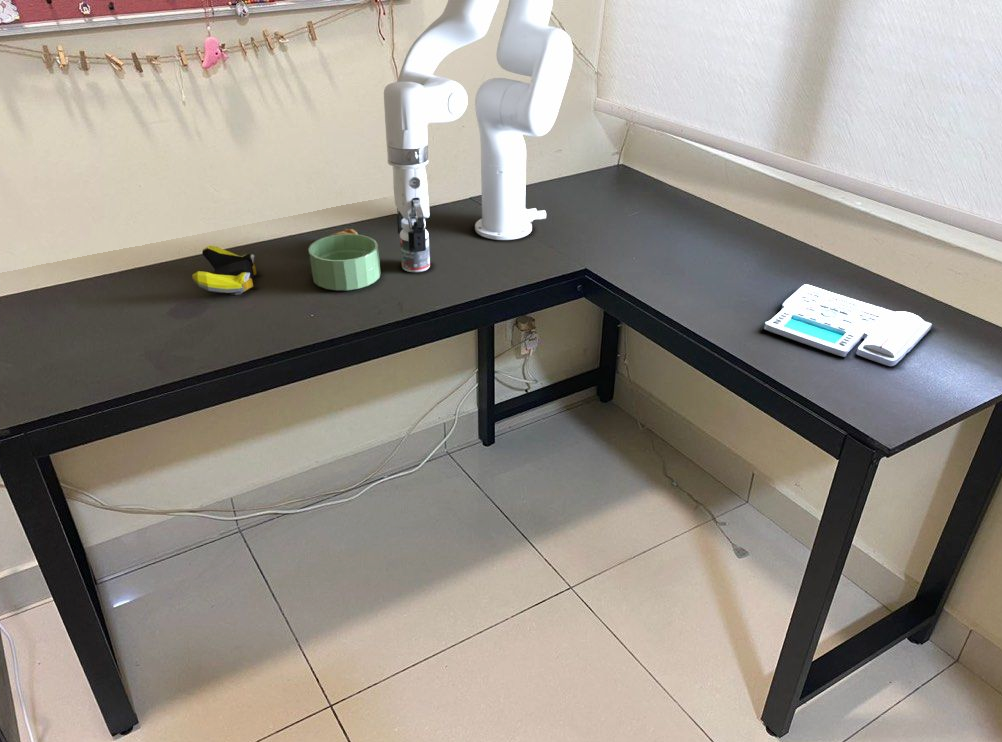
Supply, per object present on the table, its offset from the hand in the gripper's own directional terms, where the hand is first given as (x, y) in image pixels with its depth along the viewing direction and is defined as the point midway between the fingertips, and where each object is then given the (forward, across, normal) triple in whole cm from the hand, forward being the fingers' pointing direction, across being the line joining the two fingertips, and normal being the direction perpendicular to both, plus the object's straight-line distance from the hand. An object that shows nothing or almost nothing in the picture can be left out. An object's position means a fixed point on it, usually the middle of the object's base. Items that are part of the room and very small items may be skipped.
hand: (411, 242), depth 157 cm
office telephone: (+5, -49, -66) cm, 82 cm away
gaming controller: (+7, +4, +35) cm, 36 cm away
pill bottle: (+6, 0, -1) cm, 6 cm away
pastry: (+6, +13, +12) cm, 19 cm away
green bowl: (+6, 0, +13) cm, 14 cm away
